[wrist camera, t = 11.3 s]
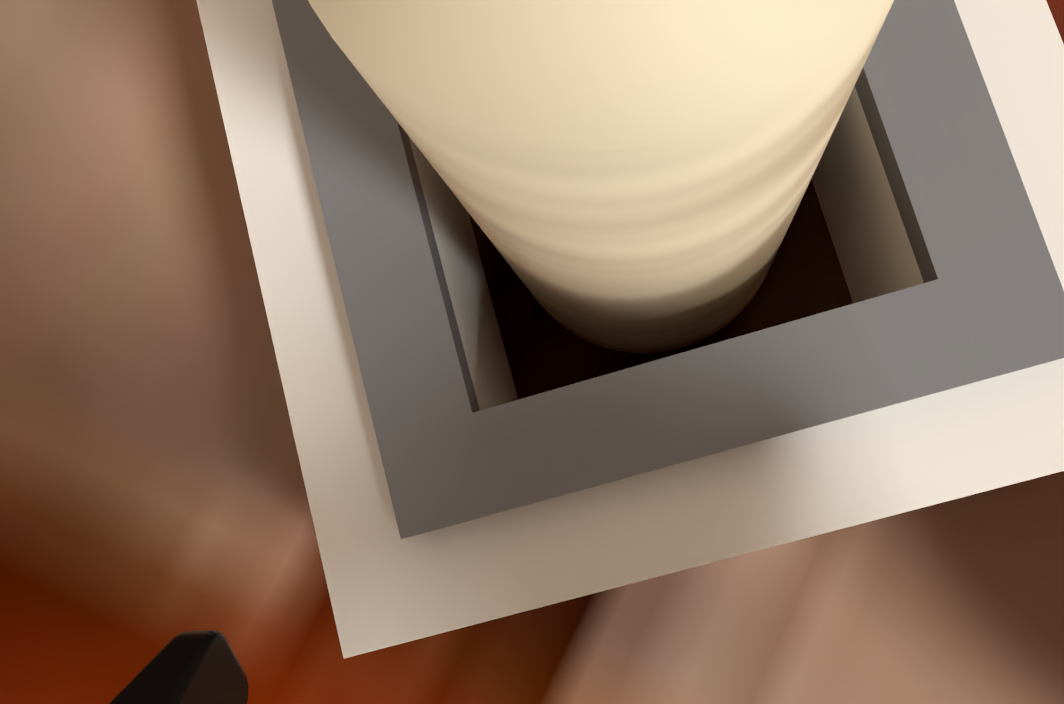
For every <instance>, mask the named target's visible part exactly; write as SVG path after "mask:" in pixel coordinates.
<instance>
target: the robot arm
mask: <svg viewBox="0 0 1064 704" xmlns="http://www.w3.org/2000/svg"><path fill="white" fill-rule="evenodd" d="M247 700H248V682H247V678H246V675H245V673H244V671H243V669H242V667H241V665H240V663H239V662H238V660H237V658H236V656H235V654H234V652H233V651H232V649H231V647H230V645H229V643H228V641H227V640H226V638H225V636H224V635H223V634H222V633H220V632H219V631H216V630H203V631H186V632H182V633H180V634H179V635H177V636H176V637H174V638H173V639H172V640H171V641H170V642H169V643H168V644H167V645H166V646H165V647H164V648H163V649H162V650H161V651H160V652H159V653H158V654H157V655H156V656H155V657H154V658H153V659H152V660H151V661H150V662H149V663H148V664H147V665H146V666H145V667H144V668H143V669H142V671H141V672H140V673H139V674H138V675H137V676H136V677H135V678H134V679H133V680H132V681H131V682H130V683H129V684H128V685H127V686H126V687H125V688H124V689H123V690H122V691H121V692H120V693H119V694H118V695H117V696H116V697H115V698H114V699H113V700H112V701H111V702H110V703H109V704H247Z"/></svg>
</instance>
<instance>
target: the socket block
mask: <svg viewBox="0 0 1064 704" xmlns="http://www.w3.org/2000/svg"><path fill="white" fill-rule="evenodd" d="M196 1H197V5H198V10H199V14H200V19H201V23H202V28H203V32H204V37H205V41H206V46H207V50H208V55H209V59H210V64H211V68H212V72H213V77H214V81H215V86H216V90H217V95H218V99H219V104H220V108H221V113H222V117H223V122H224V126H225V131H226V135H227V140H228V144H229V148H230V153H231V157H232V162H233V166H234V171H235V175H236V180H237V184H238V189H239V193H240V198H241V202H242V207H243V211H244V215H245V220H246V224H247V229H248V233H249V238H250V242H251V247H252V251H253V256H254V260H255V265H256V269H257V274H258V278H259V283H260V287H261V291H262V296H263V300H264V305H265V309H266V314H267V318H268V323H269V327H270V332H271V336H272V341H273V345H274V350H275V354H276V358H277V363H278V367H279V372H280V376H281V381H282V385H283V390H284V394H285V399H286V403H287V408H288V412H289V417H290V421H291V426H292V430H293V434H294V439H295V443H296V448H297V452H298V457H299V461H300V466H301V470H302V475H303V479H304V484H305V488H306V493H307V497H308V501H309V506H310V510H311V515H312V519H313V524H314V528H315V533H316V537H317V542H318V546H319V551H320V555H321V560H322V564H323V568H324V573H325V577H326V582H327V586H328V591H329V595H330V600H331V604H332V609H333V613H334V618H335V622H336V627H337V631H338V636H339V640H340V644H341V649H342V653H343V658H348V657H352V656H356V655H359V654H363V653H367V652H371V651H375V650H379V649H382V648H386V647H390V646H394V645H398V644H402V643H405V642H409V641H413V640H417V639H421V638H425V637H428V636H432V635H436V634H440V633H444V632H448V631H452V630H455V629H459V628H463V627H467V626H471V625H475V624H478V623H482V622H486V621H490V620H494V619H498V618H501V617H505V616H509V615H513V614H517V613H521V612H524V611H528V610H532V609H536V608H540V607H544V606H547V605H551V604H555V603H559V602H563V601H567V600H570V599H574V598H578V597H582V596H586V595H590V594H593V593H597V592H601V591H605V590H609V589H613V588H617V587H620V586H624V585H628V584H632V583H636V582H640V581H643V580H647V579H651V578H655V577H659V576H663V575H666V574H670V573H674V572H678V571H682V570H686V569H689V568H693V567H697V566H701V565H705V564H709V563H712V562H716V561H720V560H724V559H728V558H732V557H735V556H739V555H743V554H747V553H751V552H755V551H759V550H762V549H766V548H770V547H774V546H778V545H782V544H785V543H789V542H793V541H797V540H801V539H805V538H808V537H812V536H816V535H820V534H824V533H828V532H831V531H835V530H839V529H843V528H847V527H851V526H854V525H858V524H862V523H866V522H870V521H874V520H877V519H881V518H885V517H889V516H893V515H897V514H900V513H904V512H908V511H912V510H916V509H920V508H924V507H927V506H931V505H935V504H939V503H943V502H947V501H950V500H954V499H958V498H962V497H966V496H970V495H973V494H977V493H981V492H985V491H989V490H993V489H996V488H1000V487H1004V486H1008V485H1012V484H1016V483H1019V482H1023V481H1027V480H1031V479H1035V478H1039V477H1042V476H1046V475H1050V474H1054V473H1058V472H1062V471H1064V44H1063V42H1062V39H1061V37H1060V34H1059V32H1058V29H1057V27H1056V24H1055V22H1054V19H1053V17H1052V14H1051V12H1050V9H1049V7H1048V4H1047V1H1046V0H894V2H893V4H892V6H891V8H890V10H889V13H888V15H887V17H886V19H885V21H884V23H883V26H882V28H881V30H880V32H879V34H878V36H877V38H876V41H875V43H874V45H873V47H872V49H871V51H870V54H869V56H868V58H867V60H866V62H865V64H864V66H863V69H862V71H861V73H860V75H859V77H858V79H857V81H856V84H855V86H854V88H853V90H852V92H851V94H850V97H849V99H848V101H847V103H846V105H845V107H844V109H843V112H842V114H841V116H840V118H839V120H838V122H837V125H836V127H835V129H834V131H833V133H832V135H831V137H830V140H829V142H828V144H827V146H826V148H825V150H824V152H823V155H822V157H821V159H820V161H819V163H818V165H817V168H816V170H815V172H814V174H813V176H812V178H811V179H812V182H813V185H814V188H815V191H816V194H817V197H818V200H819V203H820V206H821V209H822V212H823V215H824V218H825V221H826V224H827V227H828V230H829V233H830V236H831V239H832V242H833V245H834V248H835V251H836V254H837V257H838V260H839V263H840V266H841V269H842V272H843V274H844V277H845V280H846V283H847V286H848V289H849V292H850V295H851V298H852V301H853V304H850V305H846V306H843V307H839V308H836V309H832V310H829V311H825V312H822V313H818V314H815V315H811V316H808V317H805V318H801V319H798V320H794V321H791V322H787V323H784V324H780V325H777V326H773V327H770V328H766V329H763V330H759V331H756V332H752V333H749V334H745V335H742V336H738V337H735V338H731V339H728V340H724V341H721V342H717V343H714V344H710V345H707V346H703V347H700V348H696V349H693V350H690V351H686V352H683V353H679V354H676V355H672V356H669V357H665V358H662V359H658V360H655V361H651V362H648V363H644V364H641V365H637V366H634V367H630V368H627V369H623V370H620V371H616V372H613V373H609V374H606V375H602V376H599V377H595V378H592V379H588V380H585V381H581V382H578V383H575V384H571V385H568V386H564V387H561V388H557V389H554V390H550V391H547V392H543V393H540V394H536V395H533V396H529V397H526V398H522V399H519V400H518V396H517V392H516V389H515V385H514V381H513V377H512V374H511V370H510V366H509V362H508V359H507V355H506V351H505V347H504V344H503V340H502V336H501V332H500V329H499V325H498V321H497V318H496V314H495V310H494V306H493V303H492V299H491V295H490V291H489V288H488V284H487V280H486V276H485V273H484V269H483V265H482V261H481V258H480V254H479V250H478V246H477V243H476V239H475V235H474V232H473V228H472V224H471V220H470V217H469V213H468V211H467V210H466V209H465V208H464V206H463V205H462V204H461V202H460V201H459V200H458V199H457V197H456V196H455V195H454V193H453V192H452V191H451V190H450V188H449V187H448V186H447V184H446V183H445V182H444V181H443V179H442V178H441V177H440V175H439V174H438V173H437V172H436V170H435V169H434V168H433V166H432V165H431V164H430V163H429V161H428V160H427V159H426V158H425V156H424V155H423V154H422V152H421V151H420V150H419V149H418V147H417V146H416V145H415V143H414V142H413V141H412V140H411V138H410V137H409V136H408V134H407V133H406V132H405V131H404V129H403V128H402V127H401V125H400V124H399V123H398V122H397V120H396V119H395V118H394V116H393V115H392V114H391V113H390V111H389V110H388V109H387V108H386V106H385V105H384V104H383V102H382V101H381V100H380V99H379V97H378V96H377V95H376V93H375V92H374V91H373V90H372V88H371V87H370V86H369V84H368V83H367V82H366V81H365V79H364V78H363V77H362V75H361V74H360V73H359V72H358V70H357V69H356V68H355V66H354V65H353V64H352V63H351V61H350V60H349V59H348V58H347V56H346V55H345V54H344V52H343V51H342V50H341V49H340V47H339V46H338V45H337V43H336V42H335V41H334V40H333V38H332V37H331V35H330V34H329V32H328V31H327V29H326V28H325V26H324V25H323V23H322V22H321V20H320V19H319V17H318V16H317V14H316V13H315V11H314V10H313V8H312V7H311V5H310V3H309V1H308V0H196Z"/></svg>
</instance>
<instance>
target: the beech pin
mask: <svg viewBox="0 0 1064 704" xmlns="http://www.w3.org/2000/svg"><path fill="white" fill-rule="evenodd" d="M308 1H309V3H310V5H311V7H312V8H313V10H314V11H315V13H316V14H317V16H318V17H319V19H320V20H321V22H322V23H323V25H324V26H325V28H326V29H327V31H328V32H329V34H330V35H331V37H332V38H333V40H334V41H335V42H336V43H337V45H338V46H339V47H340V49H341V50H342V51H343V52H344V54H345V55H346V56H347V58H348V59H349V60H350V61H351V63H352V64H353V65H354V66H355V68H356V69H357V70H358V72H359V73H360V74H361V75H362V77H363V78H364V79H365V81H366V82H367V83H368V84H369V86H370V87H371V88H372V90H373V91H374V92H375V93H376V95H377V96H378V97H379V99H380V100H381V101H382V102H383V104H384V105H385V106H386V108H387V109H388V110H389V111H390V113H391V114H392V115H393V116H394V118H395V119H396V120H397V122H398V123H399V124H400V125H401V127H402V128H403V129H404V131H405V132H406V133H407V134H408V136H409V137H410V138H411V140H412V141H413V142H414V143H415V145H416V146H417V147H418V149H419V150H420V151H421V152H422V154H423V155H424V156H425V158H426V159H427V160H428V161H429V163H430V164H431V165H432V166H433V168H434V169H435V170H436V172H437V173H438V174H439V175H440V177H441V178H442V179H443V181H444V182H445V183H446V184H447V186H448V187H449V188H450V190H451V191H452V192H453V193H454V195H455V196H456V197H457V199H458V200H459V201H460V202H461V204H462V205H463V206H464V208H465V209H466V210H467V211H468V213H469V214H470V215H471V216H472V218H473V219H474V220H475V222H476V223H477V224H478V225H479V227H480V228H481V229H482V231H483V232H484V233H485V234H486V236H487V237H488V238H489V240H490V241H491V242H492V243H493V245H494V246H495V247H496V249H497V250H498V251H499V252H500V254H501V255H502V256H503V258H504V259H505V260H506V261H507V263H508V264H509V265H510V266H511V268H512V269H513V270H514V272H515V273H516V274H517V275H518V277H519V278H520V279H521V281H522V282H523V283H524V284H525V286H526V287H527V288H528V290H529V291H530V292H531V293H532V295H533V296H534V297H535V299H536V300H537V301H538V302H539V304H540V305H541V306H542V307H543V308H544V309H545V310H546V312H547V313H548V314H549V315H550V316H551V317H552V318H553V319H554V320H555V321H557V322H558V323H559V324H560V325H561V326H562V327H564V328H565V329H567V330H568V331H570V332H571V333H573V334H574V335H576V336H577V337H579V338H581V339H584V340H586V341H588V342H590V343H592V344H594V345H598V346H601V347H604V348H607V349H610V350H615V351H621V352H626V353H643V354H645V353H658V352H665V351H670V350H675V349H680V348H683V347H686V346H688V345H691V344H694V343H697V342H699V341H701V340H703V339H705V338H707V337H709V336H711V335H713V334H714V333H716V332H717V331H719V330H720V329H722V328H723V327H725V326H726V325H727V324H729V323H730V322H731V321H732V320H733V319H734V318H735V317H736V316H738V315H739V314H740V313H741V312H742V311H743V309H744V308H745V307H746V306H747V305H748V304H749V303H750V301H751V300H752V299H753V297H754V296H755V294H756V293H757V291H758V290H759V288H760V287H761V285H762V283H763V281H764V279H765V277H766V275H767V273H768V271H769V269H770V267H771V264H772V262H773V260H774V258H775V256H776V254H777V251H778V249H779V247H780V245H781V243H782V241H783V239H784V236H785V234H786V232H787V230H788V228H789V226H790V223H791V221H792V219H793V217H794V215H795V213H796V211H797V208H798V206H799V204H800V202H801V200H802V198H803V196H804V193H805V191H806V189H807V187H808V185H809V183H810V180H811V178H812V176H813V174H814V172H815V170H816V168H817V165H818V163H819V161H820V159H821V157H822V155H823V152H824V150H825V148H826V146H827V144H828V142H829V140H830V137H831V135H832V133H833V131H834V129H835V127H836V125H837V122H838V120H839V118H840V116H841V114H842V112H843V109H844V107H845V105H846V103H847V101H848V99H849V97H850V94H851V92H852V90H853V88H854V86H855V84H856V81H857V79H858V77H859V75H860V73H861V71H862V69H863V66H864V64H865V62H866V60H867V58H868V56H869V54H870V51H871V49H872V47H873V45H874V43H875V41H876V38H877V36H878V34H879V32H880V30H881V28H882V26H883V23H884V21H885V19H886V17H887V15H888V13H889V10H890V8H891V6H892V4H893V2H894V0H308Z"/></svg>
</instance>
